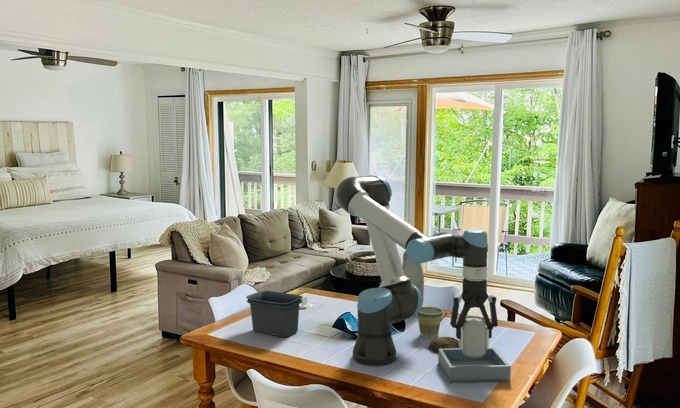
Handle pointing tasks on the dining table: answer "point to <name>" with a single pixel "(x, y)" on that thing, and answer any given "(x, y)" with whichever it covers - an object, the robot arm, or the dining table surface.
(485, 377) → the tote
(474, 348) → the can
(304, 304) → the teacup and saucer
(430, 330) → the ceramic cup
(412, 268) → the gray bottle
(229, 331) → the dining table surface
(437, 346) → the bread roll
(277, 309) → the storage bin
